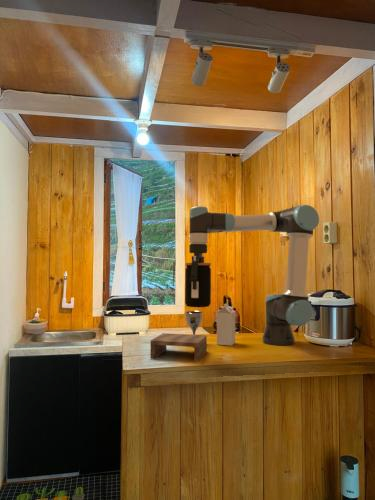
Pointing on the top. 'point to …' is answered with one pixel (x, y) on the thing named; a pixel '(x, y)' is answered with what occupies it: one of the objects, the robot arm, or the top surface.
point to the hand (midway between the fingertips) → (197, 296)
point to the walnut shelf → (179, 343)
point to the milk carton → (226, 326)
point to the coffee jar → (203, 288)
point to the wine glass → (194, 319)
